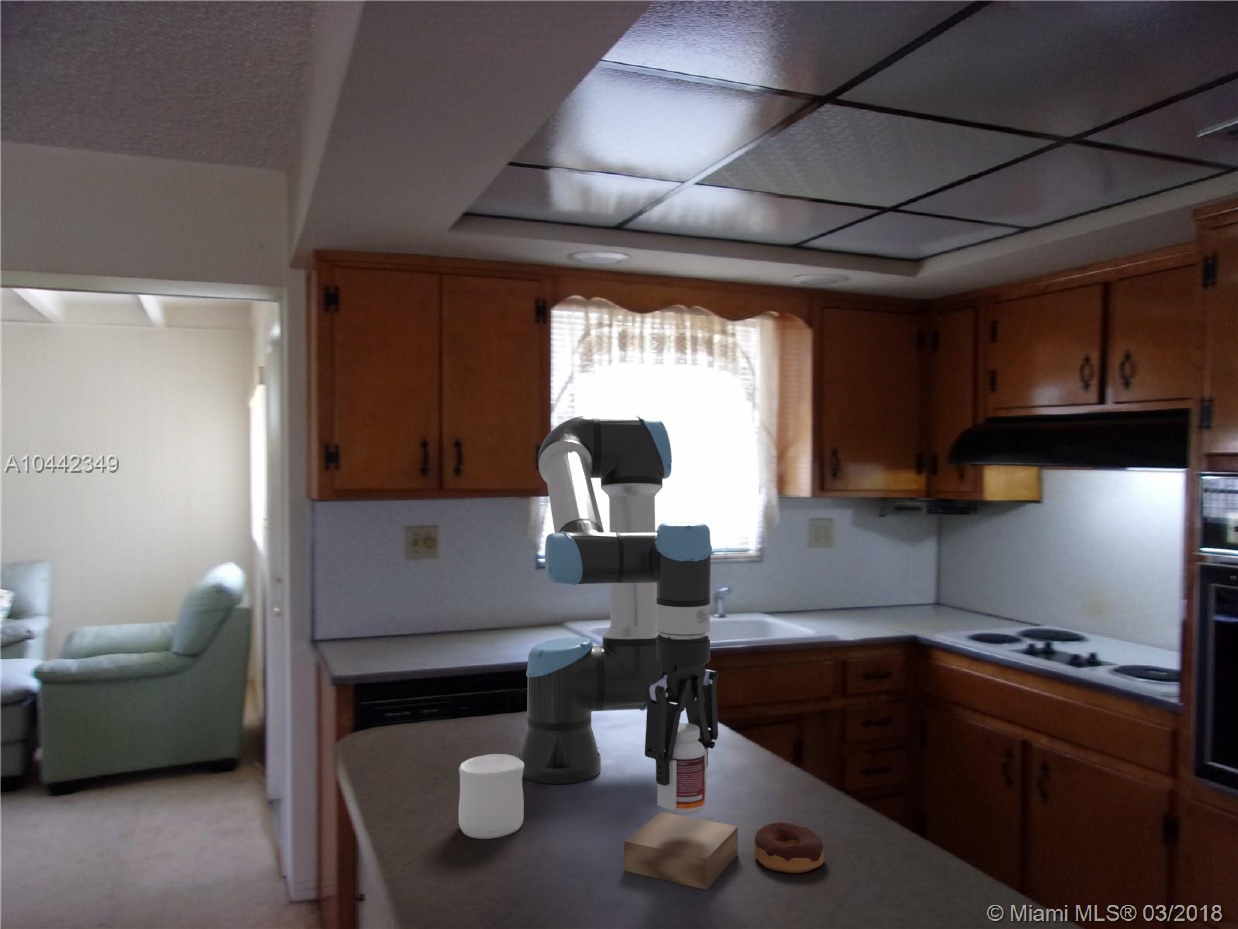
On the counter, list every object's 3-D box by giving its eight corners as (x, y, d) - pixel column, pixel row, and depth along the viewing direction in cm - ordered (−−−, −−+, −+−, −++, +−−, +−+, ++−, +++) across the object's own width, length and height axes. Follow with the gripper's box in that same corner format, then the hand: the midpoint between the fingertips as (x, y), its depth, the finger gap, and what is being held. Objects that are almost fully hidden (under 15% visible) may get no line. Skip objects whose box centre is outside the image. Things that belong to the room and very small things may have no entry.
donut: (809, 884, 120) (809, 854, 120) (741, 866, 125) (741, 837, 125) (834, 856, 128) (835, 828, 128) (770, 840, 134) (770, 813, 134)
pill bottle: (714, 809, 125) (714, 729, 125) (678, 819, 121) (678, 736, 121) (686, 795, 130) (686, 718, 130) (651, 804, 126) (651, 725, 126)
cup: (533, 819, 141) (534, 757, 141) (504, 844, 131) (505, 777, 131) (479, 811, 144) (479, 750, 144) (447, 835, 134) (447, 770, 134)
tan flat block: (624, 870, 123) (624, 841, 123) (660, 838, 134) (660, 811, 134) (706, 890, 117) (706, 859, 117) (737, 854, 128) (737, 826, 128)
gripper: (660, 647, 116) (659, 827, 116) (744, 628, 130) (744, 788, 130) (616, 640, 121) (616, 812, 121) (702, 622, 135) (702, 776, 135)
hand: (682, 799), depth 126 cm, fingers closed on pill bottle, 6 cm apart
